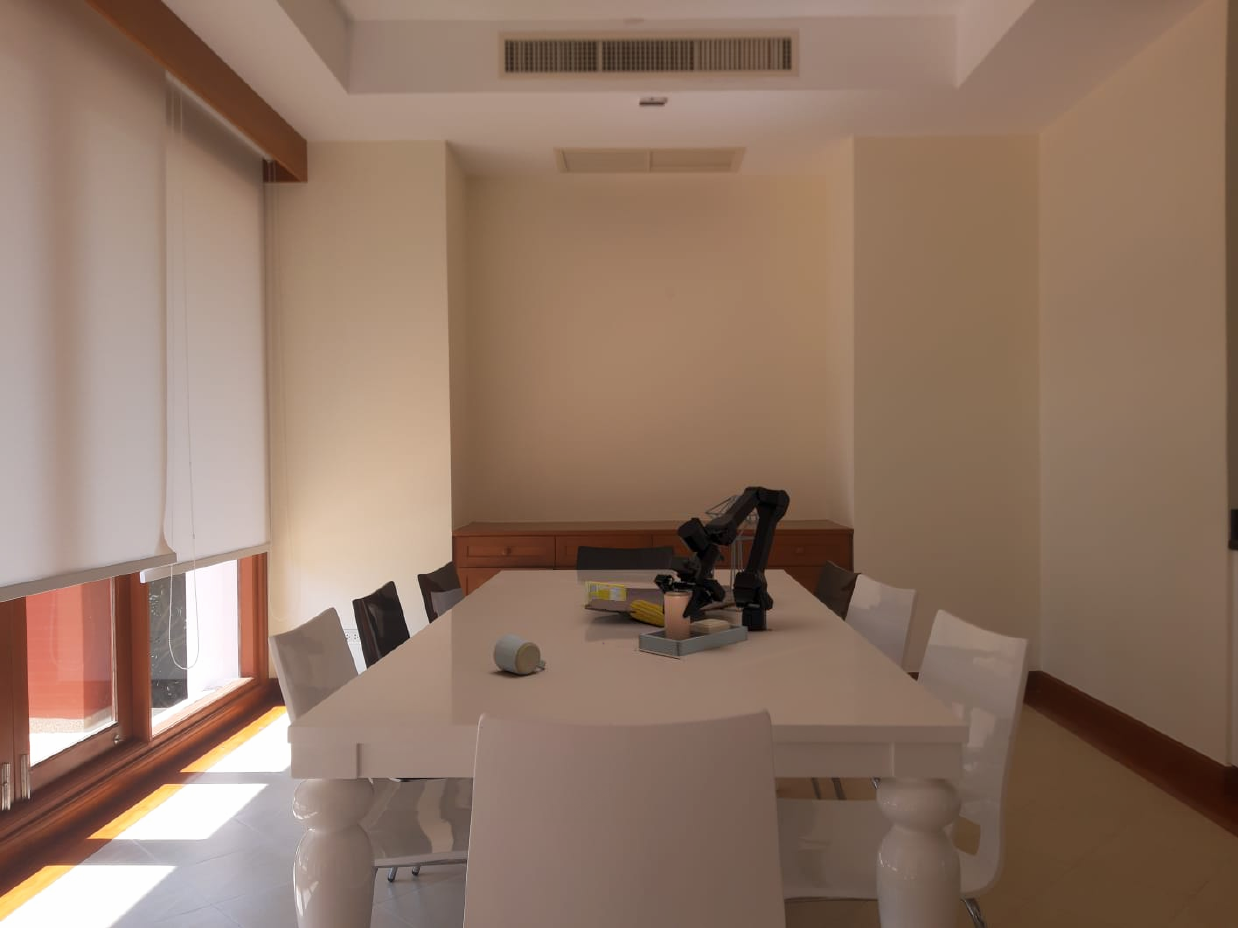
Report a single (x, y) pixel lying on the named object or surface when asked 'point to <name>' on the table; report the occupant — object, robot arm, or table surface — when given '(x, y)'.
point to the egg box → (710, 626)
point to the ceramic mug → (517, 655)
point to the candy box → (604, 591)
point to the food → (648, 612)
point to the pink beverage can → (676, 615)
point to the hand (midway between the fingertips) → (673, 615)
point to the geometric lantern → (735, 538)
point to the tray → (691, 641)
